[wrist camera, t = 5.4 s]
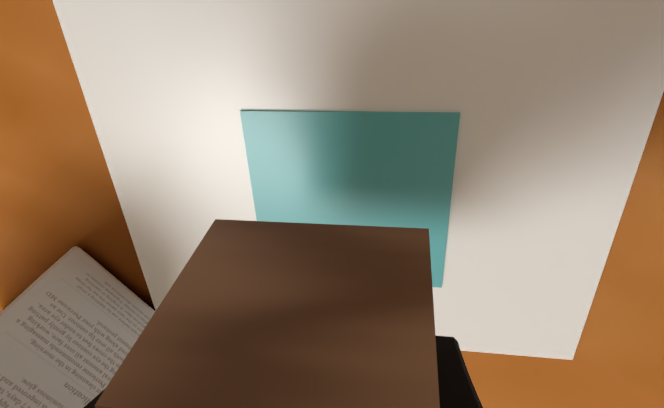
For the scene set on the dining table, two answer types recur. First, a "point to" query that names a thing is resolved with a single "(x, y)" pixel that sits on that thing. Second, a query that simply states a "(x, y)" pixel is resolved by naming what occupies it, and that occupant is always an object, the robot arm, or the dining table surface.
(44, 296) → the small box
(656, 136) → the dining table surface
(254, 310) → the walnut block
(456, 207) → the board
